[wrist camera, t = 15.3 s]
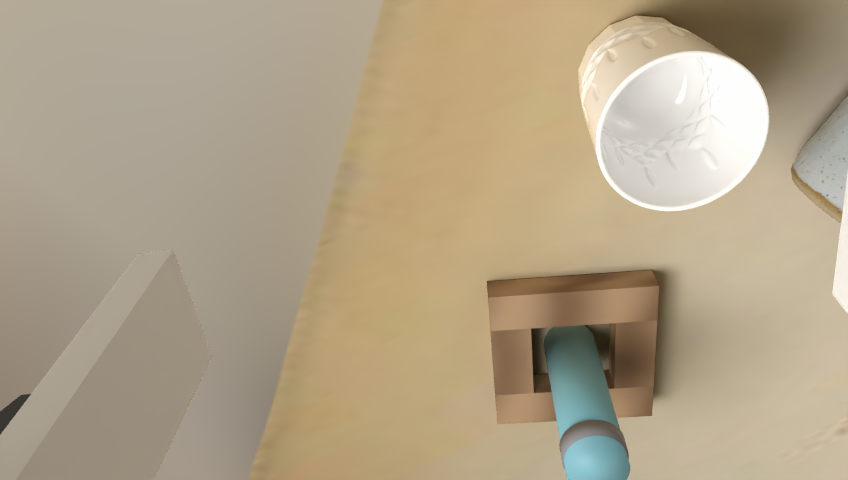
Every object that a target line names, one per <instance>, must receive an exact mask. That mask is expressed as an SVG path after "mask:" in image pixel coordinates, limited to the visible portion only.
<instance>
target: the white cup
mask: <svg viewBox="0 0 848 480" xmlns="http://www.w3.org/2000/svg"><path fill="white" fill-rule="evenodd" d="M578 74H579V92H580V98H581V101H582V107H583V112H584V116H585V120H586V124H587V127H588V130H589V134H590V137H591V140H592V143H593V146H594V149H595V152H596V155H597V159H598V162H599V165H600V168H601V170H602V172H603V174H604V176H605V178H606V179H607V181H608V182H609V184H610V185H611V186H612V187H613V188H614V189H615V190H616V191H617V192H618V193H619V194H620V195H621V196H623V197H624V198H626V199H627V200H629V201H631V202H633V203H635V204H637V205H639V206H642V207H645V208H649V209H654V210H661V211H679V210H686V209H691V208H695V207H699V206H702V205H704V204H707V203H709V202H712V201H714V200H716V199H718V198H719V197H721V196H723V195H724V194H726V193H727V192H729V191H730V190H732V189H733V188H734V187H735V186H737V185H738V184H739V183H740V182H741V181H742V180H743V179H744V178H745V177H746V176H747V175H748V173H749V172H750V171H751V170H752V168H753V167H754V165H755V164H756V162H757V161H758V159H759V157H760V155H761V153H762V151H763V149H764V146H765V143H766V140H767V136H768V131H769V120H770V117H769V107H768V102H767V98H766V95H765V93H764V91H763V88H762V87H761V85H760V83H759V82H758V80H757V79H756V77H755V76H754V75H753V74H752V73H751V72H750V71H749V70H748V69H747V68H746V67H744V66H743V65H742V64H740V63H739V62H737V61H736V60H734V59H733V58H731V57H730V56H728V55H727V54H725V53H723V52H722V51H720V50H719V49H717V48H716V47H714V46H713V45H712V44H710V43H709V42H707V41H706V40H704V39H702V38H700V37H699V36H697V35H695V34H693V33H691V32H690V31H688V30H686V29H684V28H681V27H678V26H675V25H673V24H672V23H670V22H669V21H667V20H666V19H664V18H661V17H649V16H637V15H635V16H633V17H630V18H627V19H624V20H622V21H619V22H616V23H614V24H611V25H609V26H608V27H607V28H606V29H605V30H604V31H603V32H601V33H600V34H599V35H598V36H597V37H596V38H595V39H594V40H593V41H592V42H591V43H590V44H589V45H588V48H587V50H586V52H585V55H584V57H583V60H582V62H581V64H580V67H579V69H578Z"/></svg>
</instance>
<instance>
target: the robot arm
mask: <svg viewBox="0 0 848 480" xmlns="http://www.w3.org/2000/svg"><path fill="white" fill-rule="evenodd" d="M832 294H833V295H834V297H835V298H836V299H837V301H838V302H839V303H840V304H841V306H842V307H843V308H844V310H845V311H846V312H847V313H848V173H847V181H846V189H845V197H844V205H843V213H842V221H841V229H840V237H839V245H838V253H837V260H836V268H835V276H834V284H833V292H832ZM211 358H212V354H211V351H210V348H209V345H208V343H207V340H206V337H205V335H204V332H203V329H202V327H201V324H200V321H199V318H198V316H197V313H196V310H195V307H194V305H193V302H192V299H191V296H190V294H189V291H188V288H187V285H186V283H185V280H184V277H183V275H182V272H181V269H180V266H179V264H178V261H177V258H176V256H175V253H174V250H164V251H155V252H147V253H138V254H137V256H136V257H135V258H134V259H133V261H132V262H131V263H130V265H129V266H128V267H127V269H126V270H125V271H124V273H123V274H122V275H121V277H120V278H119V279H118V281H117V282H116V283H115V285H114V286H113V287H112V288H111V290H110V291H109V292H108V294H107V295H106V296H105V298H104V299H103V300H102V302H101V303H100V304H99V306H98V307H97V308H96V309H95V311H94V312H93V313H92V315H91V316H90V317H89V319H88V320H87V321H86V323H85V324H84V325H83V327H82V328H81V329H80V331H79V332H78V333H77V334H76V336H75V337H74V339H73V340H72V341H71V342H70V344H69V345H68V346H67V348H66V349H65V350H64V352H63V353H62V354H61V356H60V357H59V358H58V360H57V361H56V362H55V363H54V365H53V366H52V367H51V369H50V370H49V371H48V373H47V374H46V375H45V377H44V378H43V379H42V381H41V382H40V383H39V384H38V386H37V387H36V388H35V390H34V391H33V392H32V394H27V395H21V396H19V397H18V398H17V399H16V400H14V401H13V402H12V403H10V404H9V405H8V406H7V407H5V408H4V409H3V410H2V411H0V480H154V478H155V476H156V474H157V472H158V470H159V467H160V465H161V463H162V461H163V459H164V457H165V455H166V453H167V451H168V449H169V446H170V444H171V442H172V440H173V438H174V436H175V434H176V432H177V430H178V427H179V425H180V423H181V421H182V419H183V417H184V415H185V413H186V411H187V408H188V406H189V404H190V402H191V400H192V398H193V396H194V394H195V392H196V389H197V387H198V385H199V383H200V381H201V379H202V377H203V375H204V373H205V370H206V368H207V366H208V364H209V362H210V360H211Z"/></svg>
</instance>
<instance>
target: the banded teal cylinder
mask: <svg viewBox="0 0 848 480" xmlns="http://www.w3.org/2000/svg"><path fill="white" fill-rule="evenodd" d="M544 351H545V357H546V362H547V368H548V374H549V379H550V385H551V391H552V397H553V402H554V408H555V414H556V419H557V425H558V431H559V437H560V452H561V458H562V464H563V467H564V469H565V471H566V476H567V479H568V480H626V479H627V478H628V476H629V473H630V464H629V460H628V459H629V454H628V450H627V447H626V443H625V439H624V436H623V434H622V432H621V431H620V428H619V424H618V421H617V417H616V414H615V410H614V406H613V403H612V399H611V396H610V392H609V388H608V385H607V381H606V378H605V374H604V370H603V367H602V363H601V360H600V356H599V352H598V349H597V345H596V342H595V338H594V335H593V333H592V331H591V330H590V329H589V328H588V327H586V326H585V325H578V326H563V327H553V328H552V329H551V330H550V331H549V332H548V333H547V334H546V336H545V338H544Z"/></svg>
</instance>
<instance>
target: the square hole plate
mask: <svg viewBox="0 0 848 480" xmlns="http://www.w3.org/2000/svg"><path fill="white" fill-rule="evenodd" d="M487 289H488V303H489V316H490V330H491V343H492V357H493V370H494V383H495V397H496V410H497V424H510V423H528V422H547V421H557V419H556V414H555V408H554V402H553V397H552V391H551V385H550V379H549V374H540V375H533V364H532V340H531V329H532V328H547V327H563V326H578V325H594V324H609V323H610V346H609V370H607V371H604V374H605V378H606V381H607V385H608V388H609V392H610V396H611V399H612V403H613V406H614V410H615V414H616V417H617V418H620V417H638V416H652V406H653V388H654V370H655V353H656V335H657V318H658V300H659V284H658V282H657V280H656V278H655V275H654V273H653V271H652V270H642V271H628V272H614V273H599V274H585V275H571V276H556V277H542V278H528V279H513V280H499V281H487Z"/></svg>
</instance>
